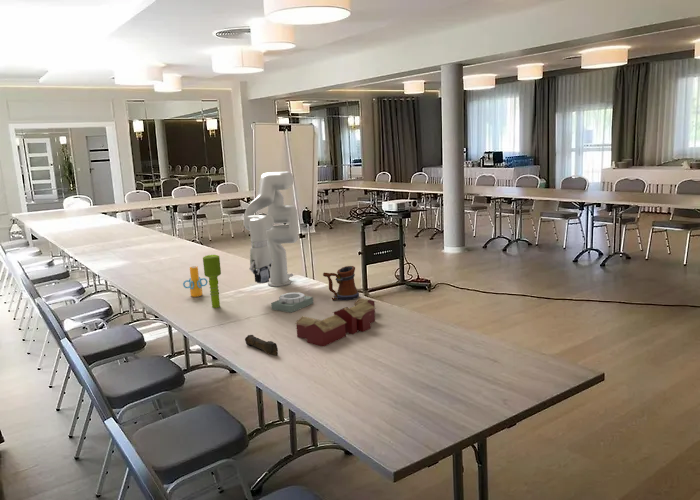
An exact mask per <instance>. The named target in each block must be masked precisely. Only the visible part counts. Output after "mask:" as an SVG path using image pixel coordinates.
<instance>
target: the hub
mask: <svg viewBox="0 0 700 500" xmlns="http://www.w3.org/2000/svg"><path fill="white" fill-rule="evenodd" d="M256 271H257V269H256ZM259 274H260V278H261V282H256V283H257V284H268V282H269V281H270V278H269V273H268V268H265V267H262V268H260V271H259Z"/></svg>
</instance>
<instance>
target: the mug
mask: <svg viewBox="0 0 700 500" xmlns="http://www.w3.org/2000/svg"><path fill="white" fill-rule="evenodd" d="M355 271H356V266H354V265H345V266H342V267H341V268H340V269H338V270H337V272H336V273H335V272H325V271H324V272H323V273H322V276H323V277H324V278H325V277H326V278H327V280H328V290H329V291H330V292H331V293H332V294H333V295H334V296H333V297H331V300H332V301H337V300H339V301H350V300H356V299H359V296H360V293H359V292H358V289H357V287H356V284H355V278H354V277H355ZM331 277H335V281H336V283H337V284H338V289H337V292H336V290H334V289H333V288H334V287H333V279H332V278H331Z"/></svg>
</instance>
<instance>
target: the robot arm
mask: <svg viewBox="0 0 700 500" xmlns="http://www.w3.org/2000/svg"><path fill="white" fill-rule="evenodd" d="M293 185H294V175H293V174H292V172H291V171H268V172H264V173H262V174H260V178H259V183H258V188H257V195H256V197H255V199H252V201H251V202H250V203H248V205H247V207H246V209H245V211H244V216H243V226H244V228H245V230H247V231H249V234H250V246H251V247H250V250H249V265H250V266H249V271H250V272H251V273H252V274H253V275H254V282H255V283H257V282H261V278H260V274H259V271H260V268H262V267H265V268H268V273H269V282H267V285H268V286H269V287H284V286H285V287H286V286H288V285H290V284H291V283H292V280H291V279H290V278H293V277H294V274H293V272H291V273H288V261H287V251H286V249H285V247H284V246H283V244H295V243H297V242H298V238H299V215H298V209H297V207H296V206H295V205H292V204H288V205H287V204H286V205H285V204H284V195H283V194H282V192H281V191H284V190H288V189H290V188H291V187H292V186H293ZM265 208H267V214H256V212H258V211H260V210H263V209H265ZM275 224H288V225H275ZM256 269H257V271H256Z"/></svg>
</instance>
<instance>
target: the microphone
mask: <svg viewBox="0 0 700 500" xmlns="http://www.w3.org/2000/svg"><path fill="white" fill-rule="evenodd" d="M220 259H221V258H220V255H218V254H207V255H205V256H203V257H202V262H203V272H204V273H203V274H204V277H206V278H208V279H209V280H208V284H209V292H210V293H209V295H210V299H211V301H210V302H211V308H214V309H217V308H219V307H220V308H221V305H220V304H221V303H220V302H221V301H220V290H219V280H218V277H219V276H221V274H222V272H221V271H222V270H221V260H220Z"/></svg>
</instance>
